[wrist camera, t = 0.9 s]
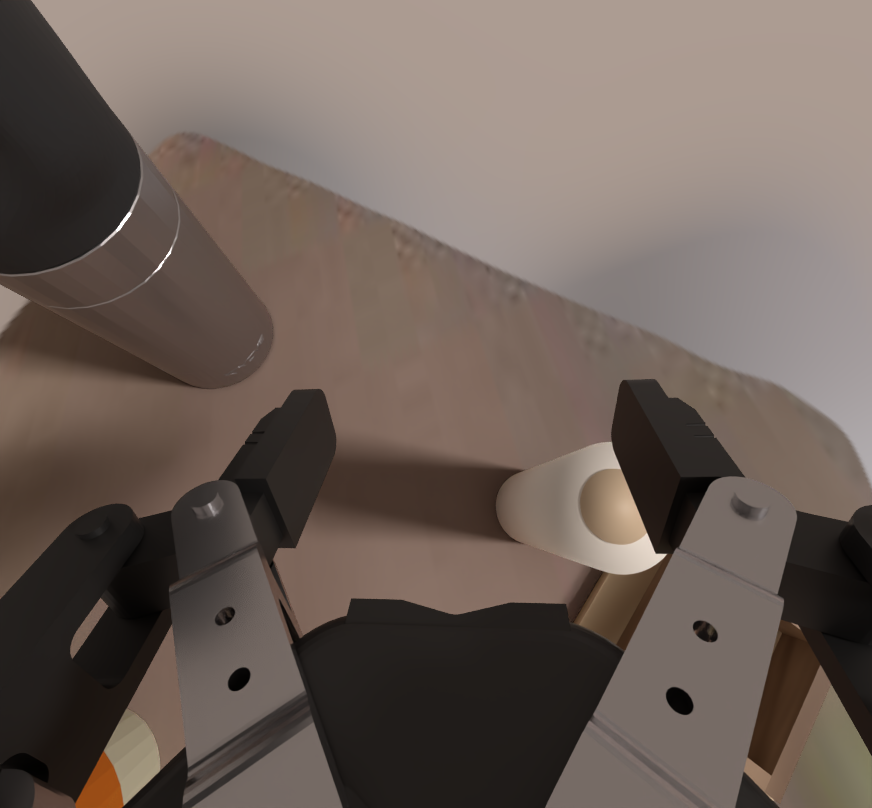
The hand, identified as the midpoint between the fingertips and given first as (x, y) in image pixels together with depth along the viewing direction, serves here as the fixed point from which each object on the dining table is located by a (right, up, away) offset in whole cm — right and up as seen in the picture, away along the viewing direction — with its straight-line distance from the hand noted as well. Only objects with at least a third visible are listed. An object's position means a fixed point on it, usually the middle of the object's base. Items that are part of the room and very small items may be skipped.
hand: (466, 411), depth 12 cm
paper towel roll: (+7, -8, +21) cm, 24 cm away
